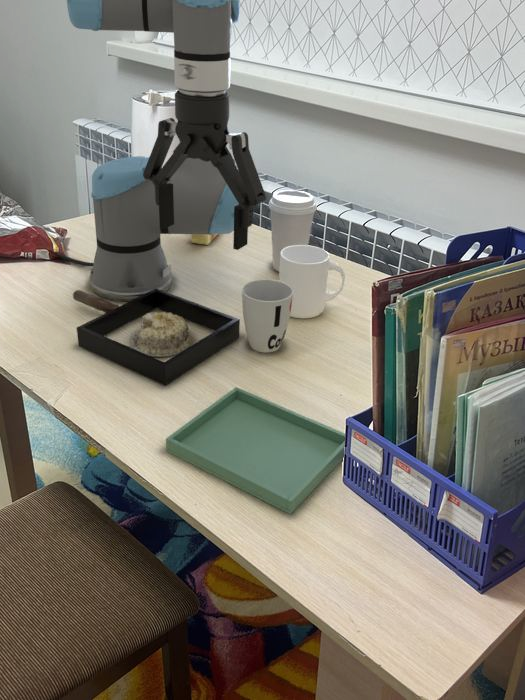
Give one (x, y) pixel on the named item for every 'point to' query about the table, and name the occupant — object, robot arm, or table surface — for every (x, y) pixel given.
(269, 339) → the cup
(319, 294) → the mug
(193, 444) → the tray
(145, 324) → the cake
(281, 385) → the table surface
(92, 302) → the pan
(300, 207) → the coffee cup
